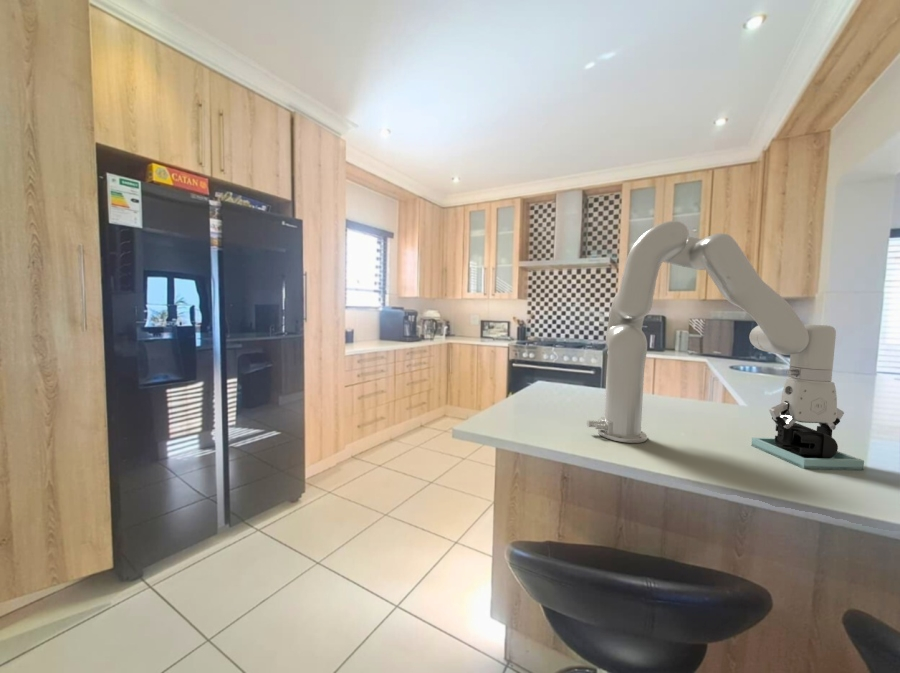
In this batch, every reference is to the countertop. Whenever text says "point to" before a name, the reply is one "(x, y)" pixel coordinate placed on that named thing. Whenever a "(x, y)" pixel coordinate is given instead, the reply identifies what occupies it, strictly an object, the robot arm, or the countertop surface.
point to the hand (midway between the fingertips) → (803, 443)
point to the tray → (836, 462)
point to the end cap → (809, 443)
